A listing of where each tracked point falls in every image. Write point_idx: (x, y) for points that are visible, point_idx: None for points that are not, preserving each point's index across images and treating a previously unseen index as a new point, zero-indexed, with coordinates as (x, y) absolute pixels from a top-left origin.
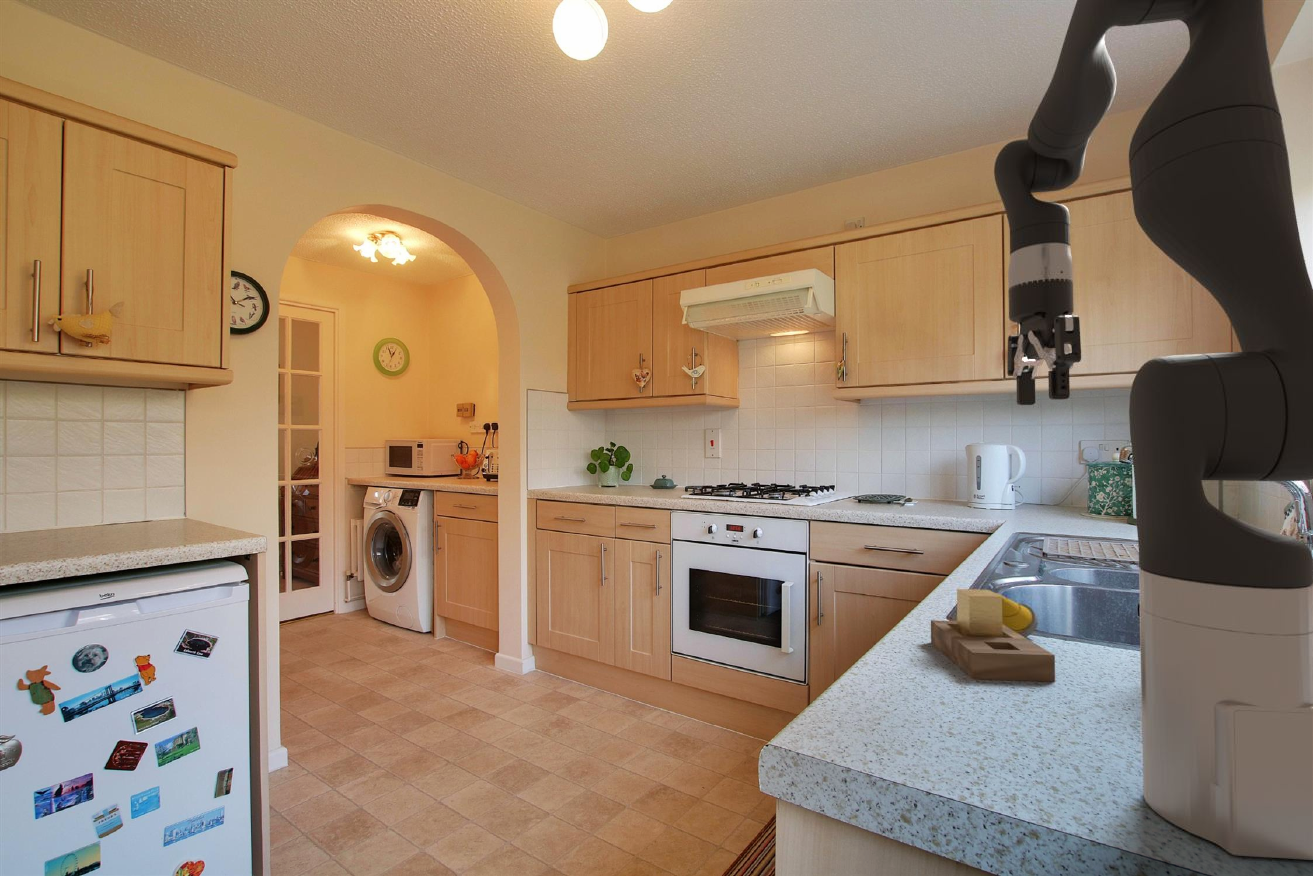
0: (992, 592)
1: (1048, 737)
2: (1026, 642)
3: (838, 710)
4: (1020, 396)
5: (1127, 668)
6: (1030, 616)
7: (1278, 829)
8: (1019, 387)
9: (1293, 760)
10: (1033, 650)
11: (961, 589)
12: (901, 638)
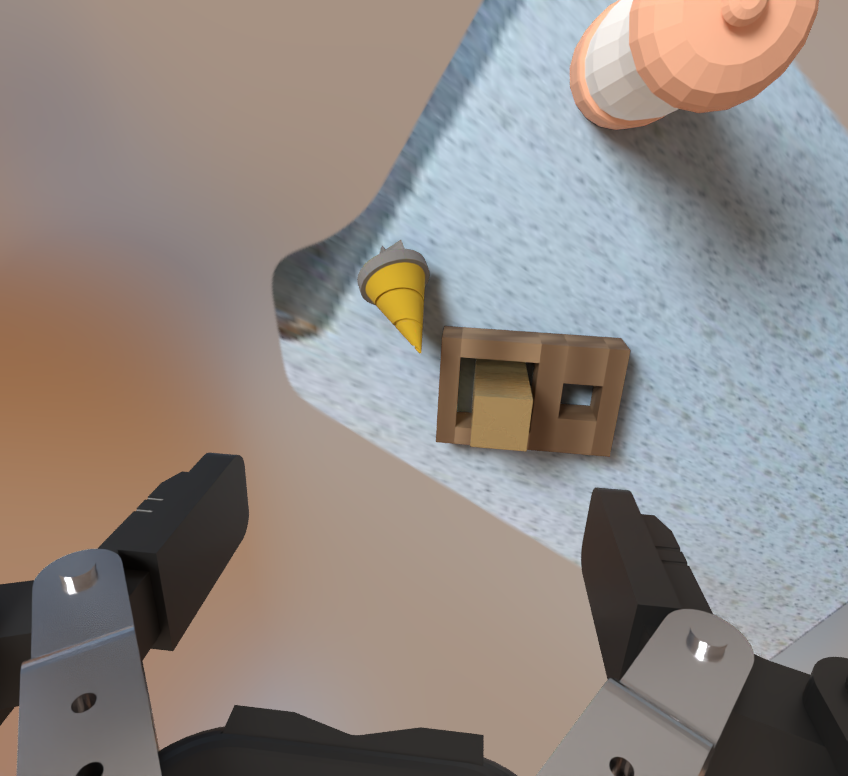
0: (497, 399)
1: (784, 445)
2: (564, 356)
3: None
4: (231, 553)
5: (568, 182)
6: (415, 267)
7: None
8: (202, 598)
9: None
10: (605, 368)
11: (473, 440)
12: (419, 459)
